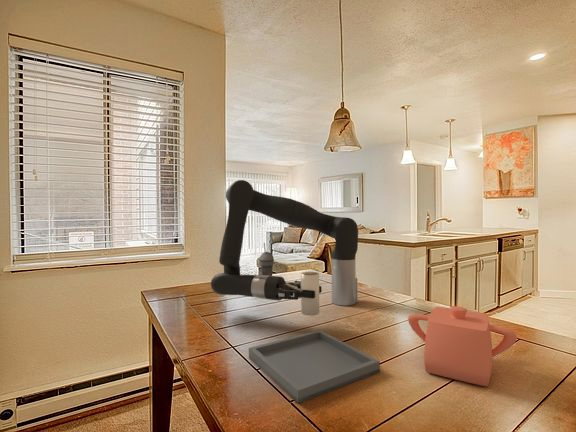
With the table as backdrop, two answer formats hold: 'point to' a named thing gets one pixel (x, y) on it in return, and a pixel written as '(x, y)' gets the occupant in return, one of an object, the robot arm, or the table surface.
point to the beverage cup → (266, 263)
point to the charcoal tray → (312, 364)
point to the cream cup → (310, 283)
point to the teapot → (460, 343)
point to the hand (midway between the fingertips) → (317, 292)
